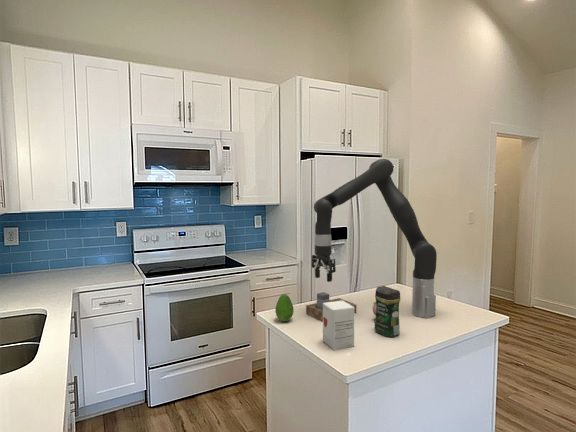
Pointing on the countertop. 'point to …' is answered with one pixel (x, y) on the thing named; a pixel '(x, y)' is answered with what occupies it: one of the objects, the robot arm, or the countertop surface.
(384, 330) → the coffee jar
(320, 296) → the plug
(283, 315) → the avocado
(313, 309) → the socket block
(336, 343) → the supplement box
